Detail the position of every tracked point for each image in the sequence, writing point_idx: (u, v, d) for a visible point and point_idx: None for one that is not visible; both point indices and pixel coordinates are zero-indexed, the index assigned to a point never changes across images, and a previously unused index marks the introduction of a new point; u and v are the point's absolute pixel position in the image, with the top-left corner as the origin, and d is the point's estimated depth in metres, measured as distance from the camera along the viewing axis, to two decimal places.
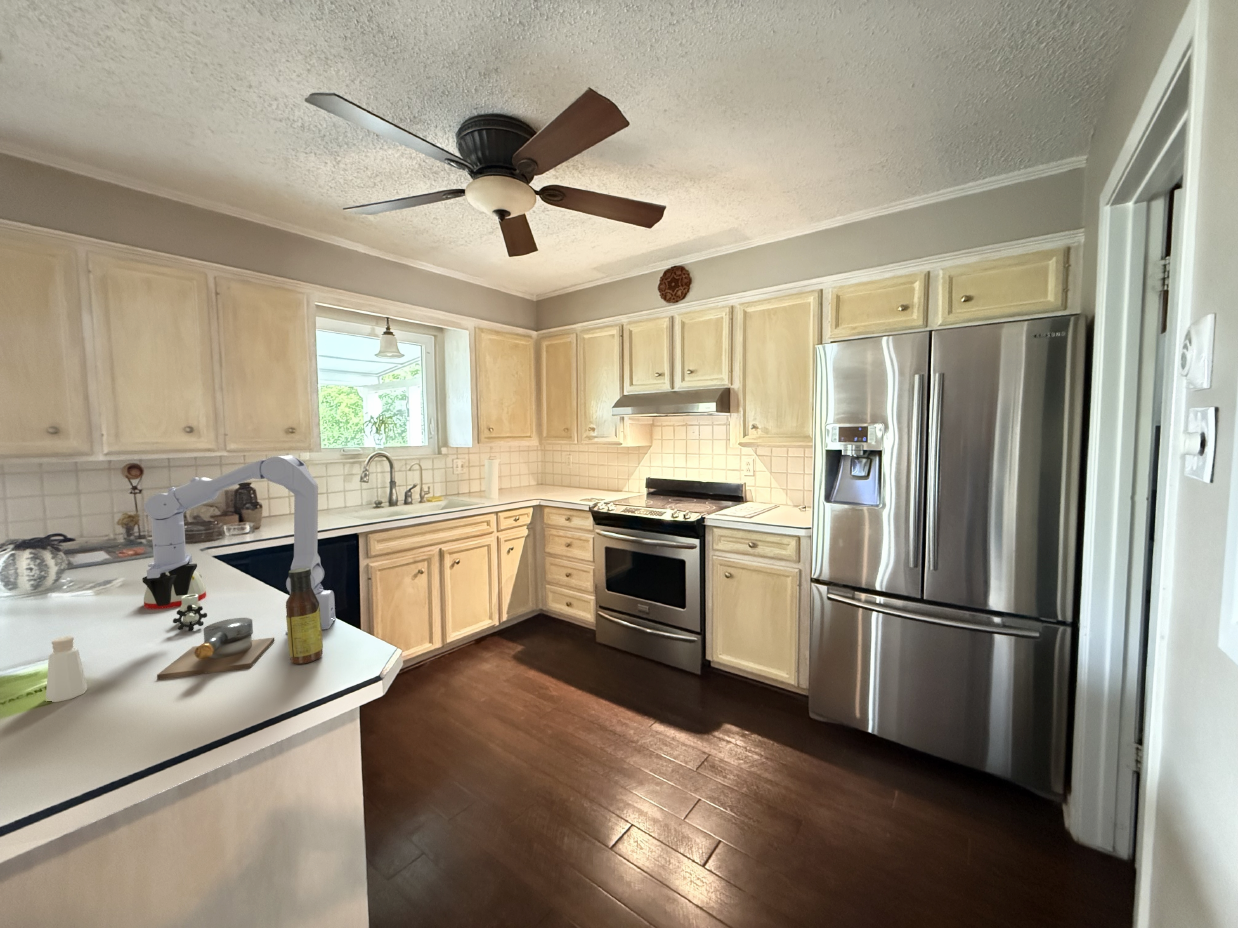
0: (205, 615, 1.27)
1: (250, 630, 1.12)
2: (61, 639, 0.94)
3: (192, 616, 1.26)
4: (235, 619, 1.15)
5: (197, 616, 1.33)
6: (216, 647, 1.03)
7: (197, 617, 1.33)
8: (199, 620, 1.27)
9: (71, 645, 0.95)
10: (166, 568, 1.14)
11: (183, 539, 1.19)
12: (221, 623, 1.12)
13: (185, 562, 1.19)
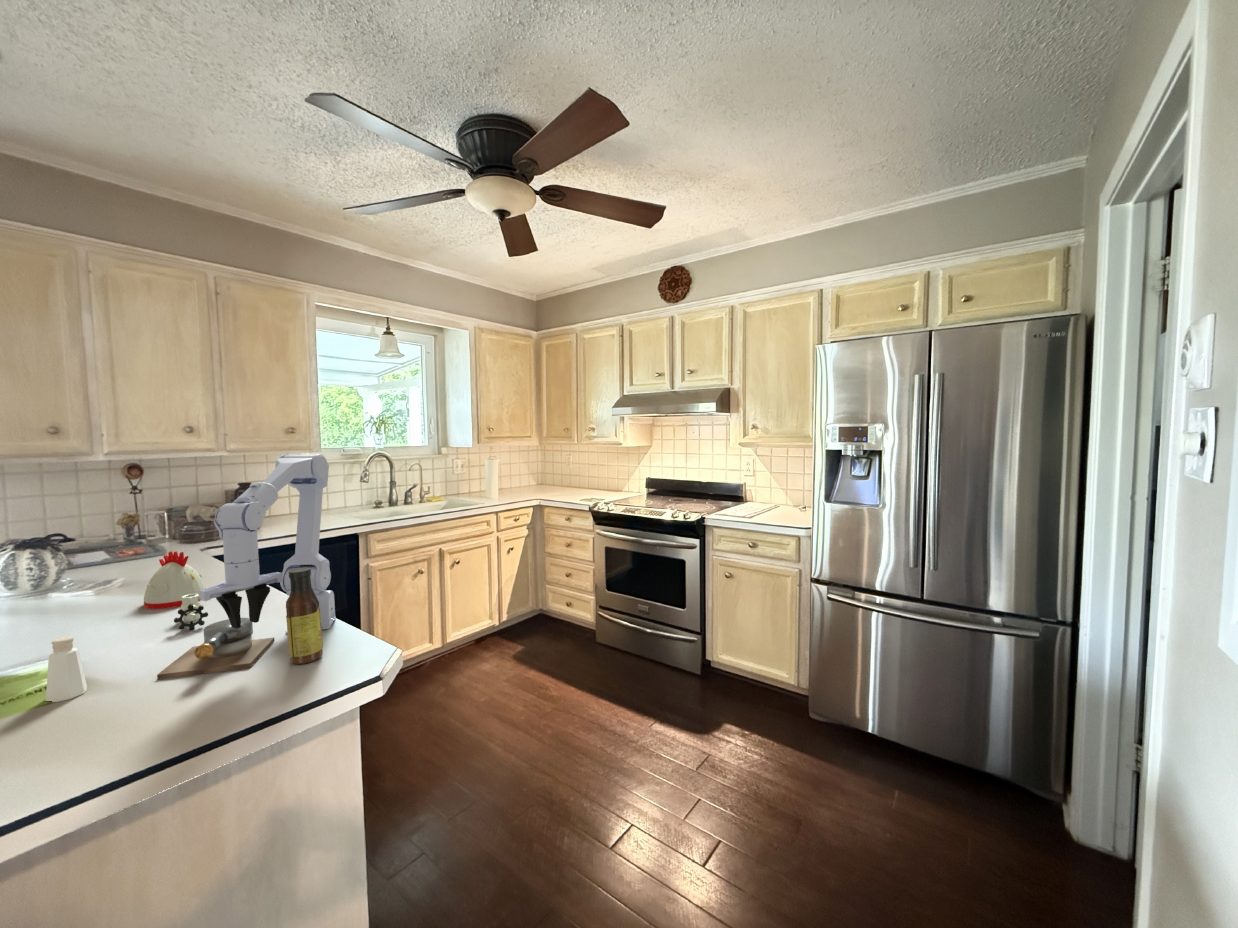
0: (206, 614, 1.28)
1: (250, 630, 1.12)
2: (61, 639, 0.94)
3: (193, 615, 1.26)
4: None
5: (197, 616, 1.34)
6: (216, 647, 1.03)
7: (197, 617, 1.34)
8: (200, 619, 1.27)
9: (71, 645, 0.95)
10: (220, 590, 0.99)
11: None
12: (221, 623, 1.12)
13: (250, 584, 1.02)
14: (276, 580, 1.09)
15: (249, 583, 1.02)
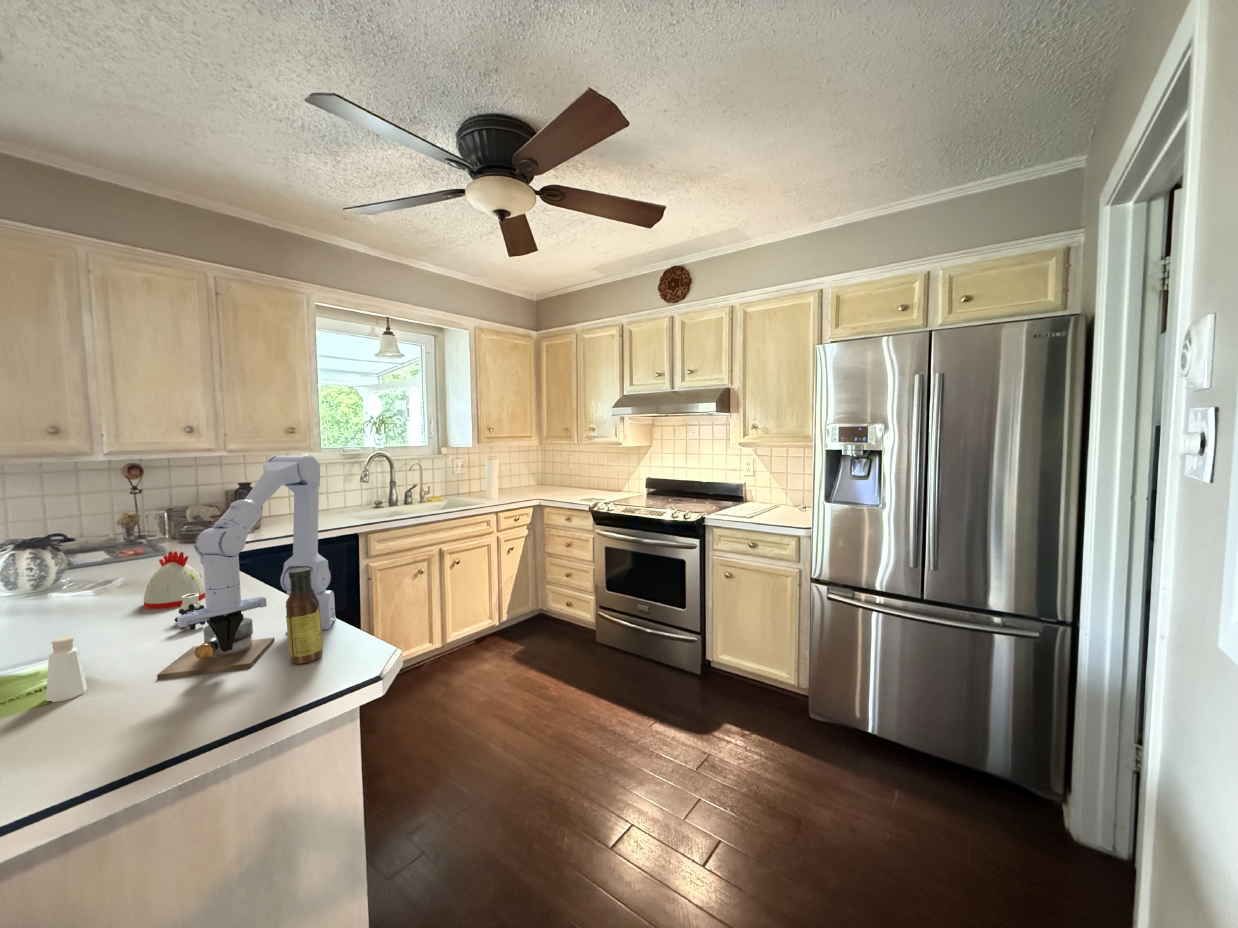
0: None
1: (250, 630, 1.12)
2: (61, 639, 0.94)
3: None
4: None
5: None
6: (216, 647, 1.03)
7: None
8: None
9: (71, 645, 0.95)
10: (197, 617, 0.99)
11: None
12: None
13: (228, 611, 1.01)
14: (260, 605, 1.08)
15: (227, 609, 1.01)
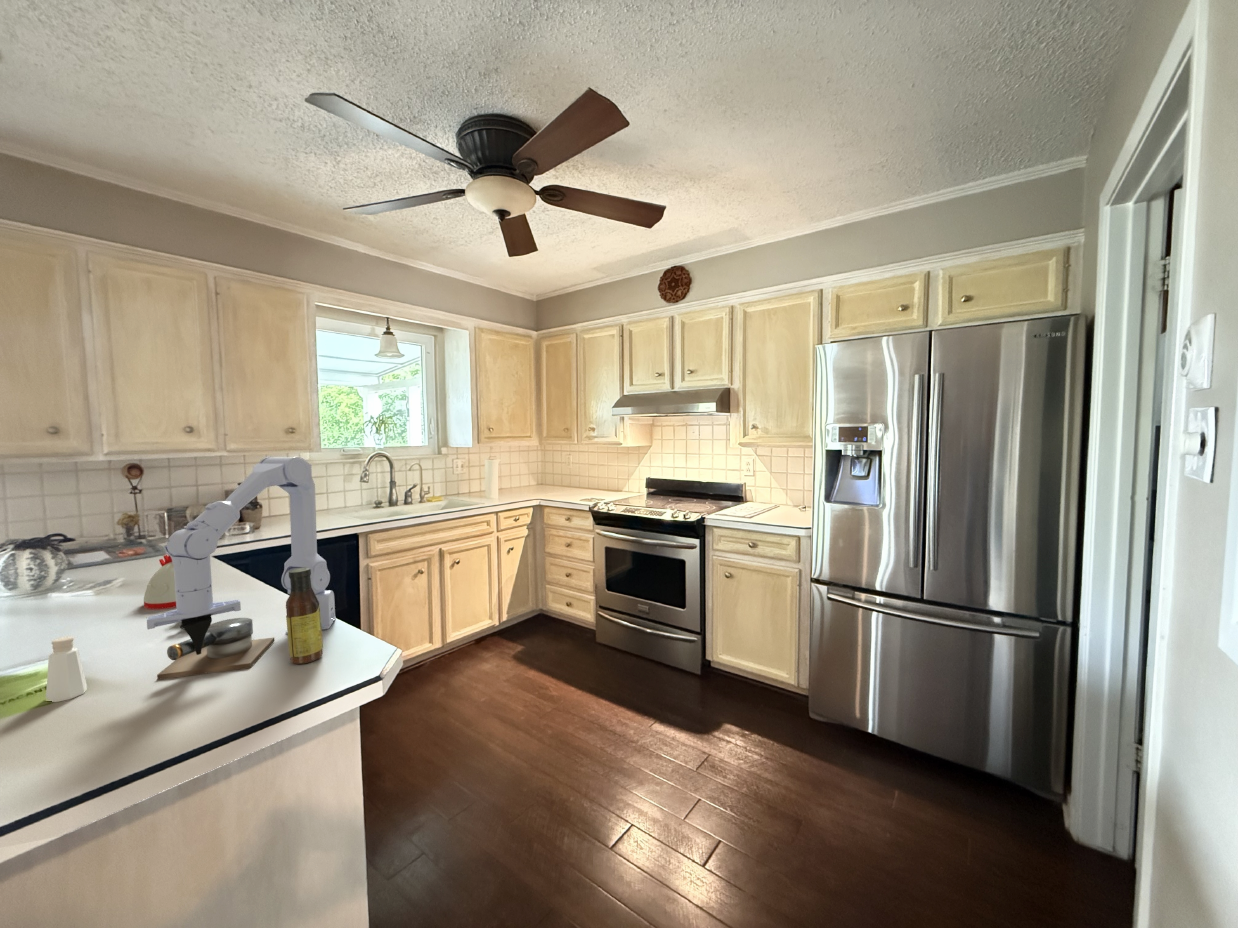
0: None
1: (242, 634, 1.10)
2: (61, 639, 0.94)
3: None
4: (243, 619, 1.15)
5: None
6: (189, 649, 1.02)
7: None
8: None
9: (71, 645, 0.95)
10: (164, 619, 0.98)
11: None
12: (227, 621, 1.13)
13: (195, 614, 1.00)
14: (234, 609, 1.06)
15: (195, 613, 1.00)
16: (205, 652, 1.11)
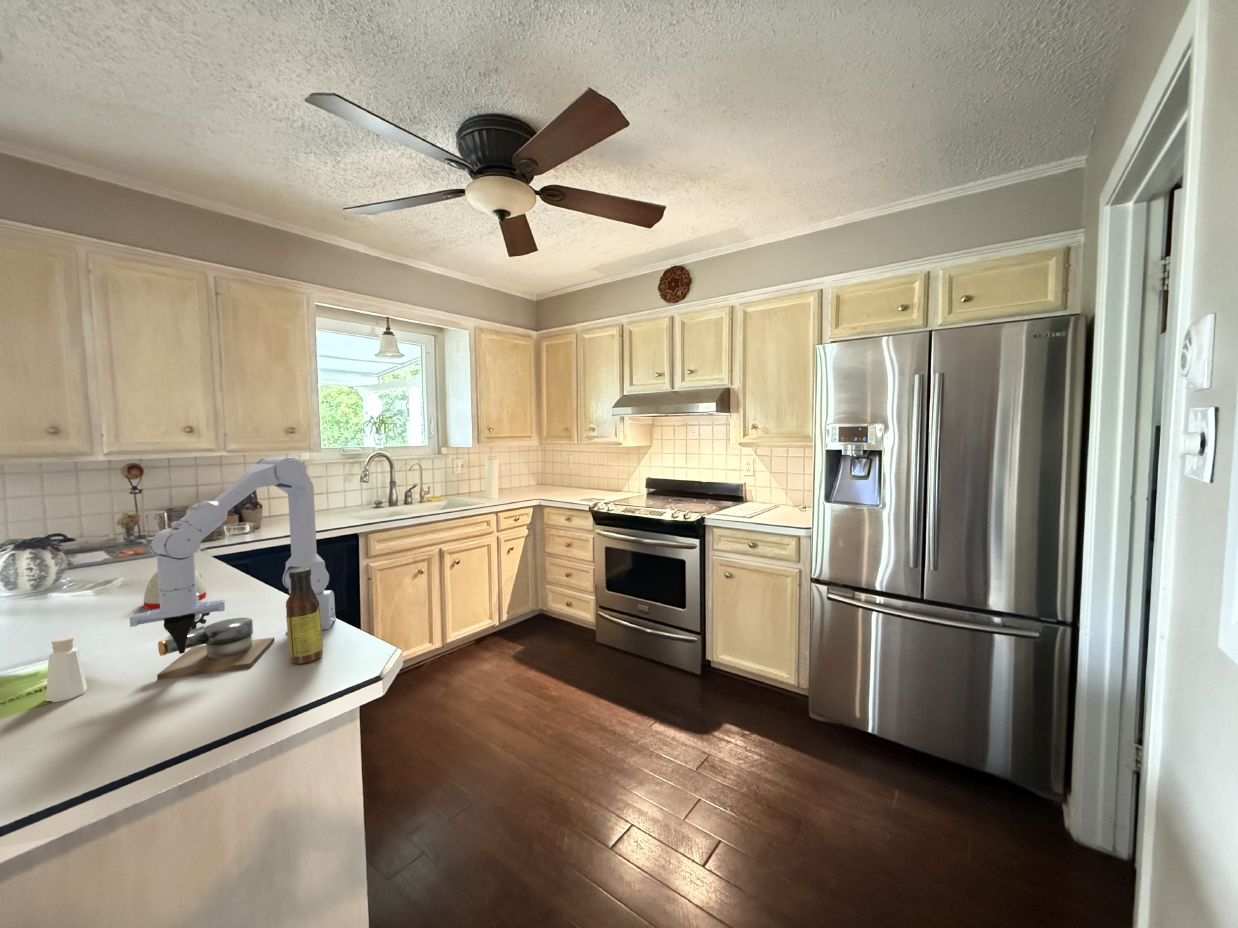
0: (208, 613, 1.29)
1: (232, 637, 1.09)
2: (61, 639, 0.94)
3: None
4: (246, 620, 1.14)
5: (198, 614, 1.34)
6: (175, 647, 1.03)
7: (198, 615, 1.34)
8: (202, 618, 1.28)
9: (71, 645, 0.95)
10: (146, 617, 0.99)
11: None
12: (233, 620, 1.14)
13: (176, 614, 1.00)
14: (217, 609, 1.06)
15: (175, 612, 1.00)
16: (205, 652, 1.11)
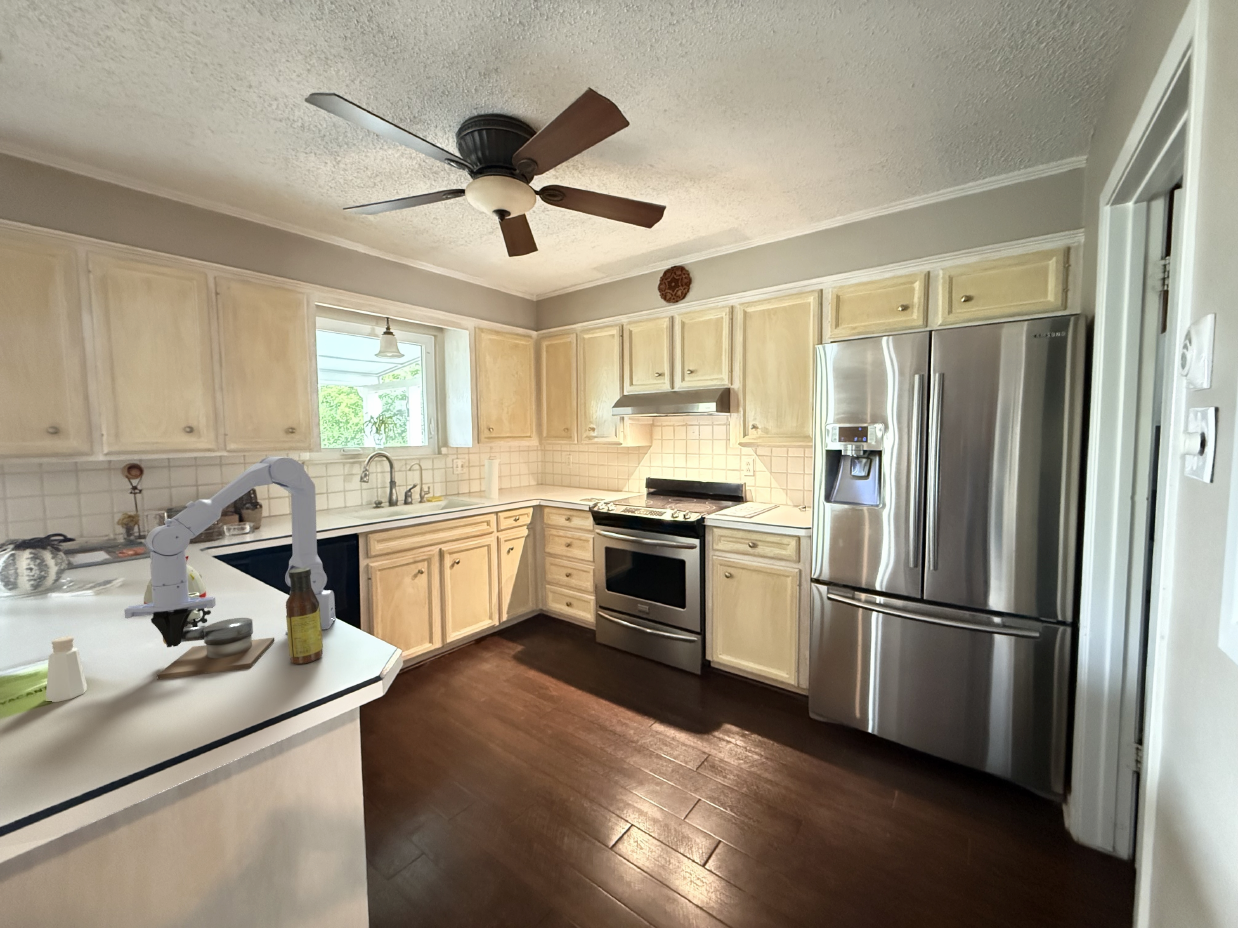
0: (209, 612, 1.30)
1: (216, 639, 1.07)
2: (61, 639, 0.94)
3: (196, 613, 1.28)
4: (245, 623, 1.12)
5: (198, 614, 1.35)
6: None
7: (198, 615, 1.35)
8: (203, 617, 1.29)
9: (71, 645, 0.95)
10: (138, 610, 1.03)
11: None
12: (239, 621, 1.14)
13: (164, 609, 1.03)
14: (206, 606, 1.08)
15: (163, 607, 1.03)
16: (205, 652, 1.11)
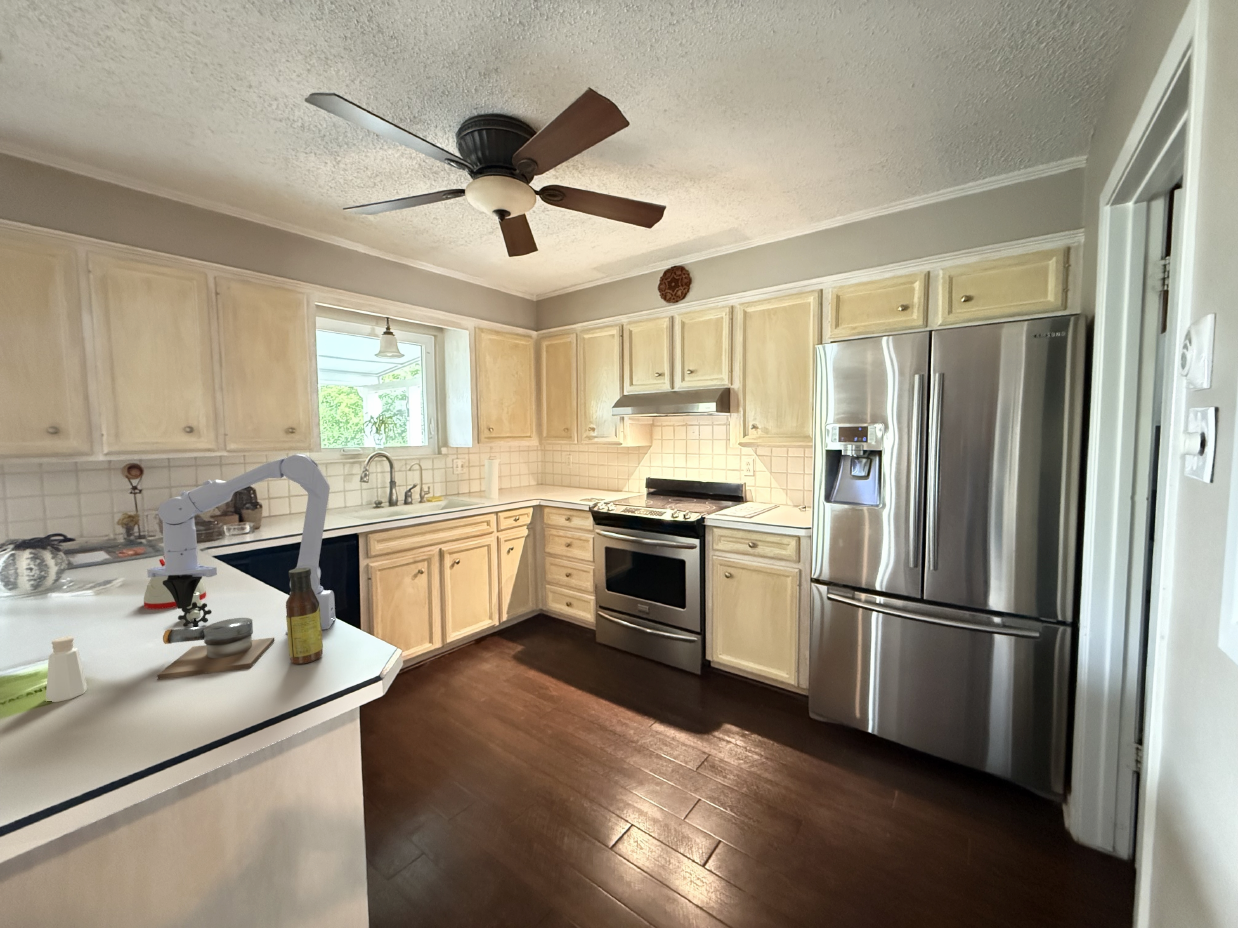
0: (209, 612, 1.30)
1: (216, 639, 1.07)
2: (61, 639, 0.94)
3: (197, 613, 1.28)
4: (245, 623, 1.12)
5: None
6: (175, 638, 1.08)
7: (198, 614, 1.35)
8: (204, 617, 1.29)
9: (71, 645, 0.95)
10: (155, 572, 1.14)
11: (196, 544, 1.16)
12: (239, 621, 1.14)
13: (169, 573, 1.12)
14: None
15: (169, 571, 1.12)
16: (205, 652, 1.11)
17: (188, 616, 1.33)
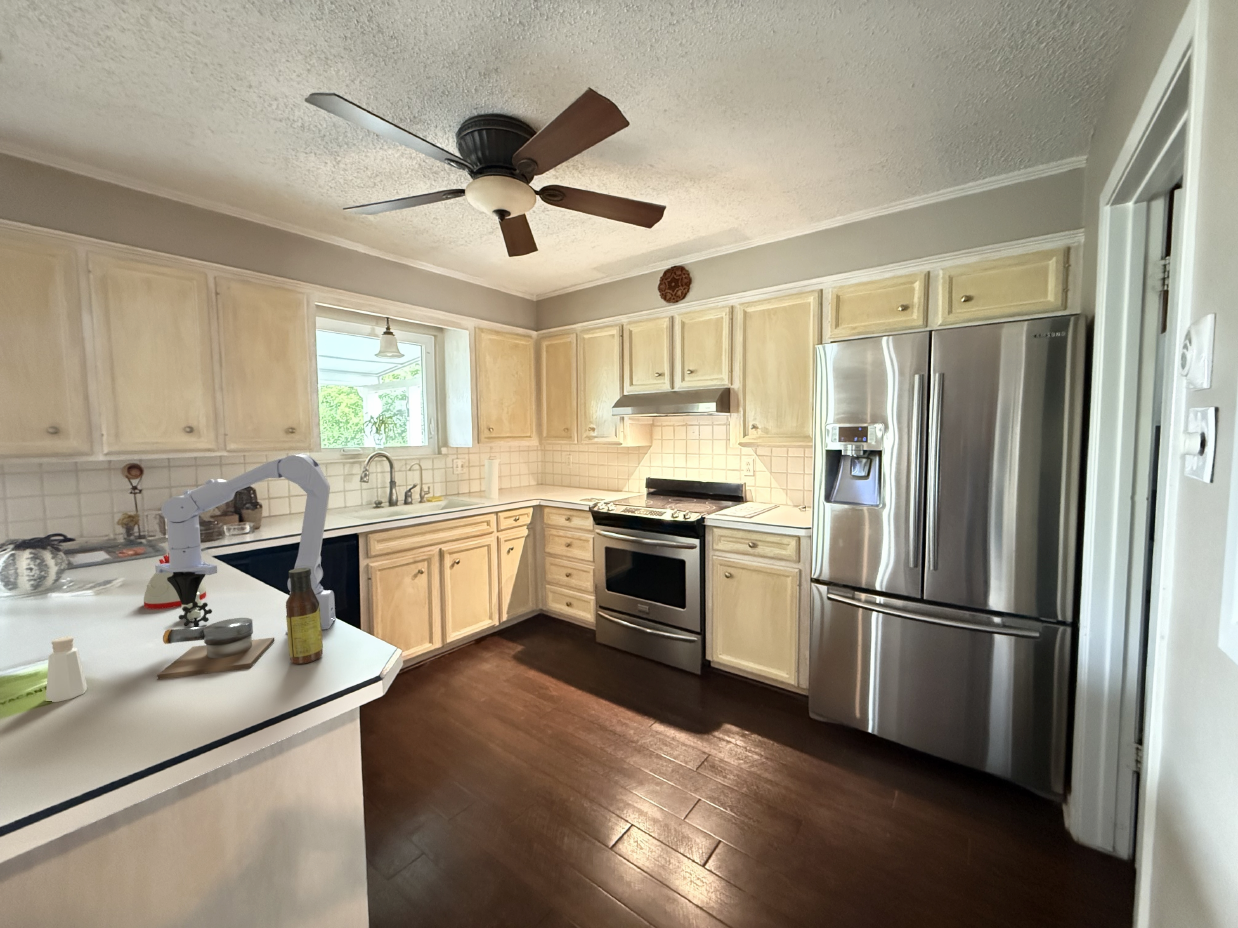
0: (210, 611, 1.30)
1: (216, 639, 1.07)
2: (61, 639, 0.94)
3: (197, 612, 1.29)
4: (245, 623, 1.12)
5: None
6: (175, 638, 1.08)
7: None
8: (204, 616, 1.30)
9: (71, 645, 0.95)
10: (162, 568, 1.17)
11: (199, 542, 1.18)
12: (239, 621, 1.14)
13: (172, 570, 1.15)
14: None
15: (172, 568, 1.15)
16: (205, 652, 1.11)
17: (188, 616, 1.34)
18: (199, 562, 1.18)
